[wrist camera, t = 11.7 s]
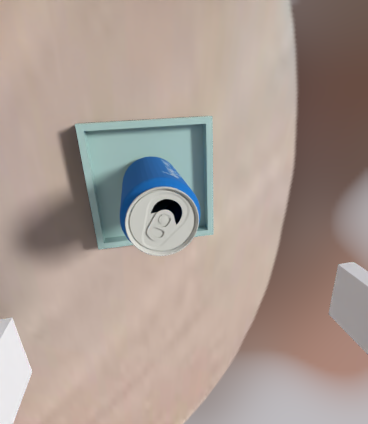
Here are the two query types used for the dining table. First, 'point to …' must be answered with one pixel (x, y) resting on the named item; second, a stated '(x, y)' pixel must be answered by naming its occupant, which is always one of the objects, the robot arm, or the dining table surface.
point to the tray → (138, 148)
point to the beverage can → (157, 207)
